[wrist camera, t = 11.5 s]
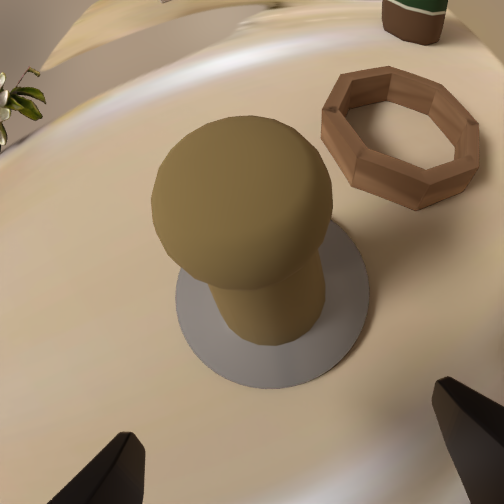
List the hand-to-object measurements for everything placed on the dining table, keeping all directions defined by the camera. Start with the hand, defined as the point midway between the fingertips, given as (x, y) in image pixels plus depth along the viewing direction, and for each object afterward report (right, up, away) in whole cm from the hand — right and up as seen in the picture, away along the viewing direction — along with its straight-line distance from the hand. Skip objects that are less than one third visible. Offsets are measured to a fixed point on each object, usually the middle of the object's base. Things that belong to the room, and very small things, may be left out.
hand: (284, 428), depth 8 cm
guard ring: (+10, +13, +14) cm, 21 cm away
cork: (0, +3, +10) cm, 10 cm away
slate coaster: (0, +3, +10) cm, 11 cm away
